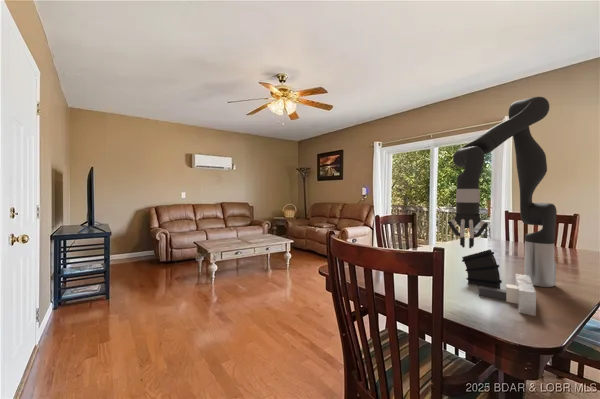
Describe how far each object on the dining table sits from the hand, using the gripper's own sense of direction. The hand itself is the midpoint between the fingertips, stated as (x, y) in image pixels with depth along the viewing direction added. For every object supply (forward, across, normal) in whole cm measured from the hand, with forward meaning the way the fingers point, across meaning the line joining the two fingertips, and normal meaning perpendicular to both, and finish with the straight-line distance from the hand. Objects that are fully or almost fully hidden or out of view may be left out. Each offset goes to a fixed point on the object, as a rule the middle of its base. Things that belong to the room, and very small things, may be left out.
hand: (467, 247), depth 104 cm
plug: (+17, +10, 0) cm, 20 cm away
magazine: (+17, +4, +12) cm, 22 cm away
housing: (+17, +17, 0) cm, 24 cm away
